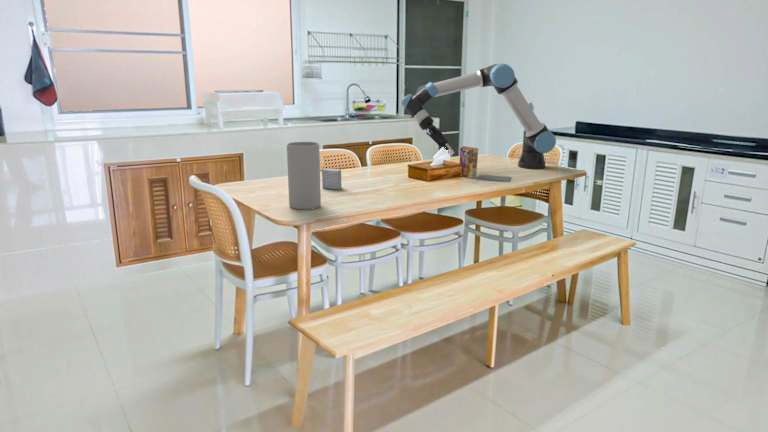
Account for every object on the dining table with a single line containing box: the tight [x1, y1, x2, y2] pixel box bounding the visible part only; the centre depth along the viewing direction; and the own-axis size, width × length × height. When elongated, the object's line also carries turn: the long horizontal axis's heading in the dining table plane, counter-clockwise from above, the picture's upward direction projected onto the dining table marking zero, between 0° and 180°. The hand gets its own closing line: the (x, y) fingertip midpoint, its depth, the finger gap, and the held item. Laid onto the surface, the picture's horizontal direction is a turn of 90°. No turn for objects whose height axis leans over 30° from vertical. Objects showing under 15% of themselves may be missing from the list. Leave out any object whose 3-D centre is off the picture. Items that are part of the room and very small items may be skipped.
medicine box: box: [321, 168, 342, 190], centre depth 240 cm, size 8×4×9 cm, turn 71°
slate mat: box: [476, 174, 512, 183], centre depth 266 cm, size 16×12×1 cm
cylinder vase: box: [286, 141, 322, 210], centre depth 206 cm, size 12×12×25 cm
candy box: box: [459, 145, 479, 179], centre depth 268 cm, size 9×4×15 cm, turn 39°
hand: (452, 154), depth 270 cm, fingers closed
